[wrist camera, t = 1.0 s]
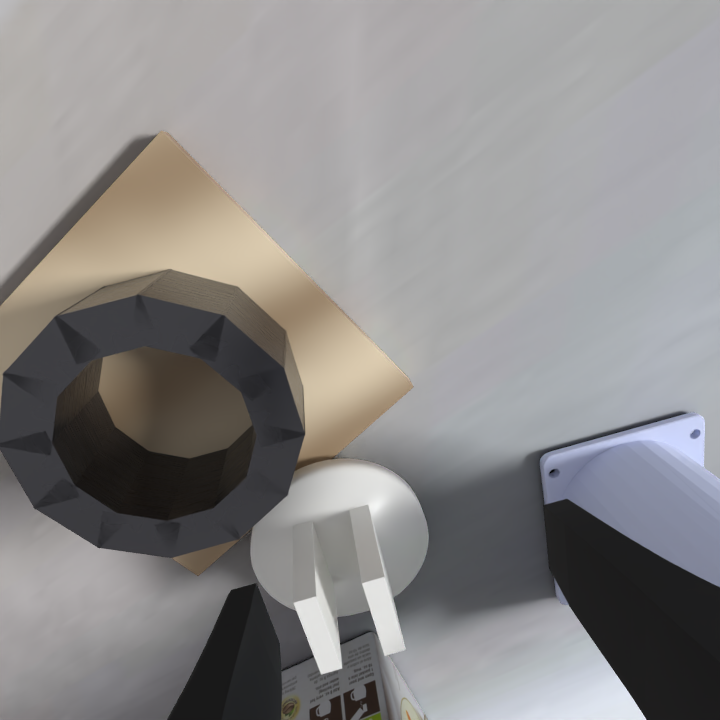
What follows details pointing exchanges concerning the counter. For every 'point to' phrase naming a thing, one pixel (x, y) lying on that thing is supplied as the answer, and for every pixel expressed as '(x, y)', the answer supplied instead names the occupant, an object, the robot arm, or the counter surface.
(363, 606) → the white round knobbed piece
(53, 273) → the square wooden board
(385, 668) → the coffee box
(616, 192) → the counter surface
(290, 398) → the ring
